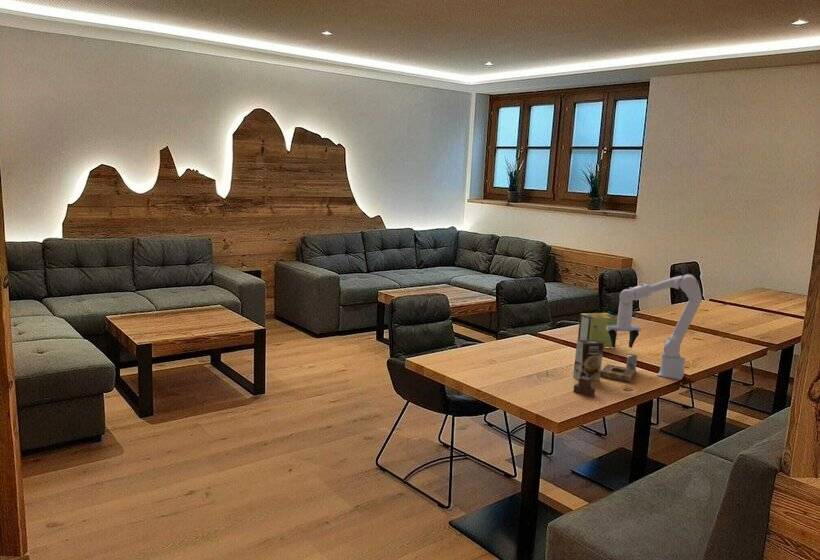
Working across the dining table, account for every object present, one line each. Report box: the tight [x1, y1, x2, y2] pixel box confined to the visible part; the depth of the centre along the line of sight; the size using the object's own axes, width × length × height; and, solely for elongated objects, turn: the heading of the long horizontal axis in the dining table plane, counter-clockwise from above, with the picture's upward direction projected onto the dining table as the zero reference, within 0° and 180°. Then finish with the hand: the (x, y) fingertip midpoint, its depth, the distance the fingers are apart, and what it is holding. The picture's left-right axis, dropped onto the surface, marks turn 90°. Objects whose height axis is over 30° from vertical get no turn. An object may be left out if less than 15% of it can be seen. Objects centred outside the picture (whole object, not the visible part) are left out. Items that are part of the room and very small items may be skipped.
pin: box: [625, 353, 638, 371], centre depth 277 cm, size 4×4×7 cm
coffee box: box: [572, 339, 604, 382], centre depth 263 cm, size 9×6×16 cm
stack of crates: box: [573, 376, 596, 397], centre depth 248 cm, size 15×15×7 cm
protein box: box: [577, 312, 618, 349], centre depth 314 cm, size 10×15×16 cm
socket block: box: [600, 363, 637, 383], centre depth 270 cm, size 12×12×2 cm
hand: (621, 346), depth 280 cm, fingers open, 7 cm apart
